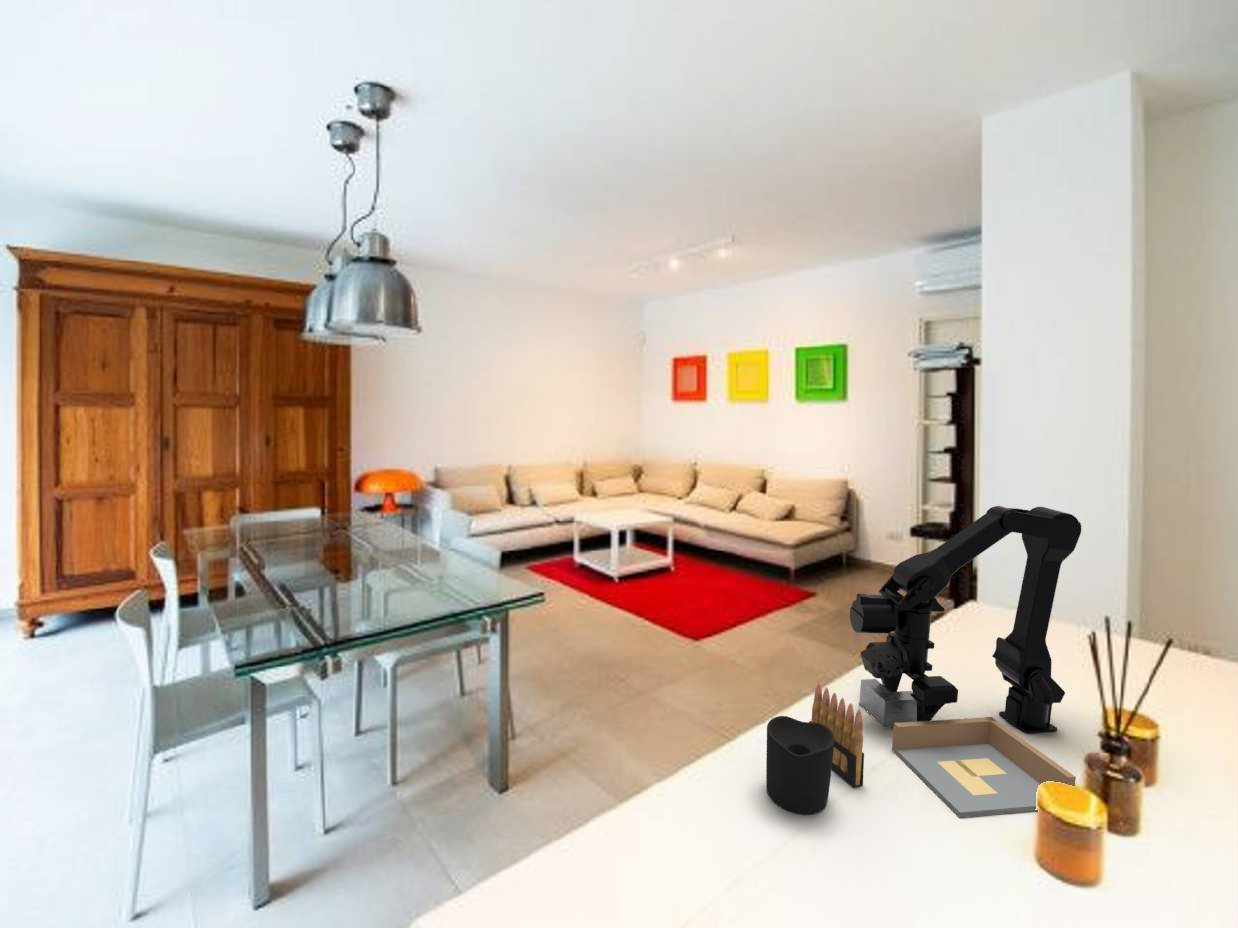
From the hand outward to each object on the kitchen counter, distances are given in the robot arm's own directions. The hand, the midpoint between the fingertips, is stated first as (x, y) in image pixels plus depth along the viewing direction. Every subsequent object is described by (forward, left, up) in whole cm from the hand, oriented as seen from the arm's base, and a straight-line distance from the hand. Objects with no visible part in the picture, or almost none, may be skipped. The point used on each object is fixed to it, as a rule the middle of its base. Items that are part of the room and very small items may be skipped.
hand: (904, 714), depth 108 cm
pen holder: (+28, +17, -2) cm, 33 cm away
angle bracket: (+1, -3, -1) cm, 3 cm away
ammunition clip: (+19, +11, -2) cm, 22 cm away
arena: (-2, +16, -1) cm, 16 cm away
